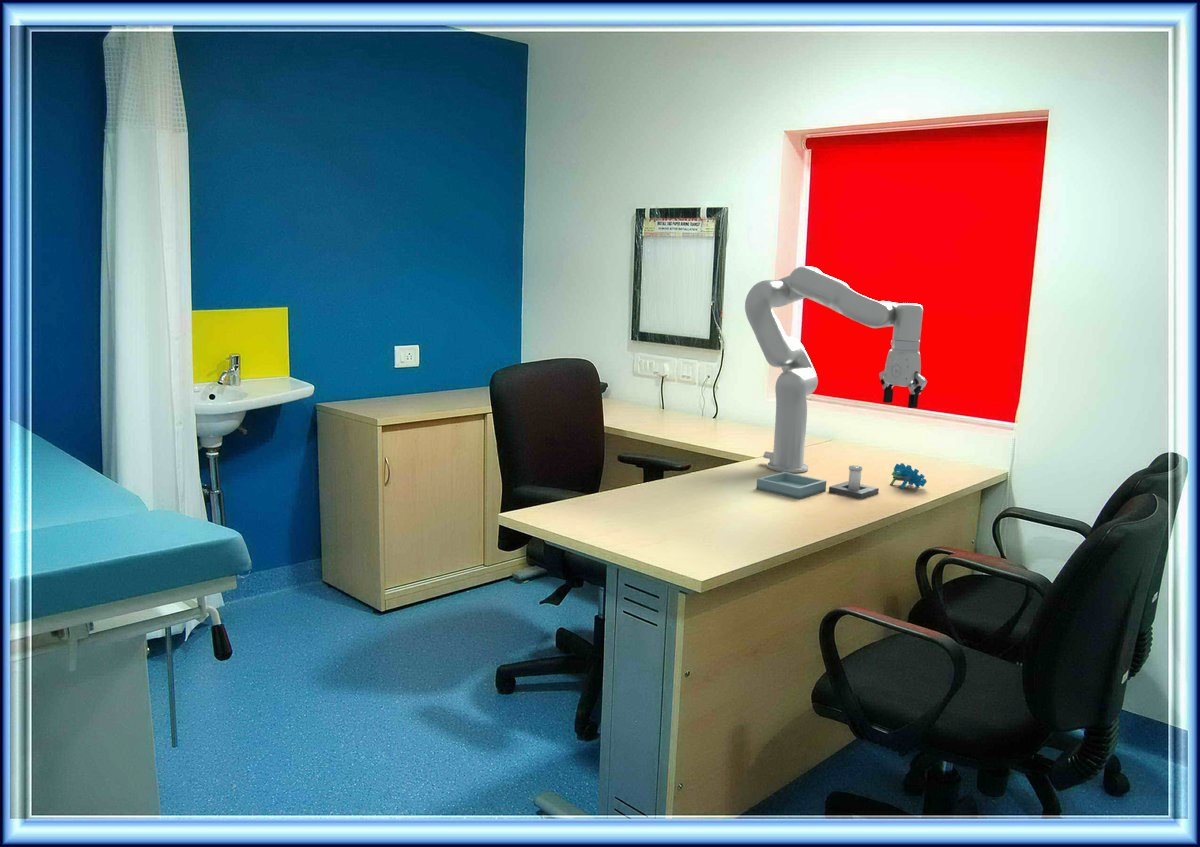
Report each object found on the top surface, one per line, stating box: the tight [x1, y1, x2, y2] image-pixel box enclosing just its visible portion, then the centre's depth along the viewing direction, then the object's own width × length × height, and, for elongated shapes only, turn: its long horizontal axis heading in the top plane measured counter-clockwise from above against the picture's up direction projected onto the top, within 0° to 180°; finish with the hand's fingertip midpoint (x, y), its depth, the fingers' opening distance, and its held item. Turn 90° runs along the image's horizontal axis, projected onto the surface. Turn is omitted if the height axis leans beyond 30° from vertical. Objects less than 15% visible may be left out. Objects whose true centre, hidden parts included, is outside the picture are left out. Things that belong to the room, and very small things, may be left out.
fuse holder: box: [828, 481, 880, 500], centre depth 254 cm, size 10×10×2 cm
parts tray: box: [755, 472, 827, 500], centre depth 255 cm, size 14×14×3 cm
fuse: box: [848, 465, 863, 491], centre depth 254 cm, size 4×4×8 cm
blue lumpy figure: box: [889, 462, 927, 490], centre depth 262 cm, size 11×6×10 cm
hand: (899, 405), depth 261 cm, fingers open, 9 cm apart
